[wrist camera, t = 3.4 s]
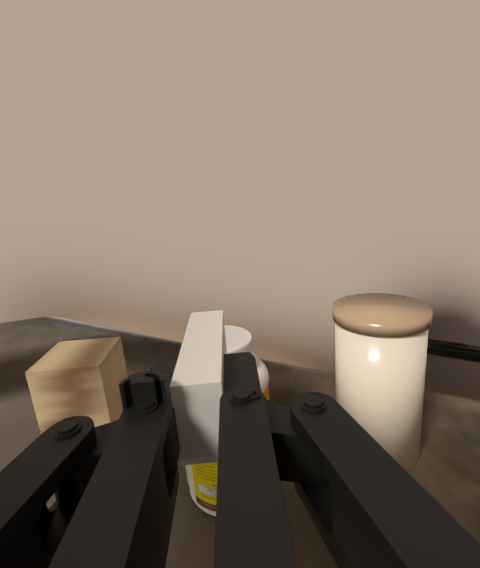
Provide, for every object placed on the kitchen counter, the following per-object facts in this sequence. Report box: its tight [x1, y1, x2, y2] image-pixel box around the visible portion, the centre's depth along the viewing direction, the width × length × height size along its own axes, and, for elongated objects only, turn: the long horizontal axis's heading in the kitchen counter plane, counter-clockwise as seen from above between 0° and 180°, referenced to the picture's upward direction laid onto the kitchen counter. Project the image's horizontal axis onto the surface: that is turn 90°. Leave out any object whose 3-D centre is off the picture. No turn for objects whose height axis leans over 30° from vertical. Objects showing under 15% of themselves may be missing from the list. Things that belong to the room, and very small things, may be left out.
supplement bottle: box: [185, 325, 270, 517], centre depth 26 cm, size 7×7×13 cm
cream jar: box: [333, 293, 433, 471], centre depth 30 cm, size 7×7×13 cm
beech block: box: [25, 336, 128, 434], centre depth 32 cm, size 6×6×10 cm
